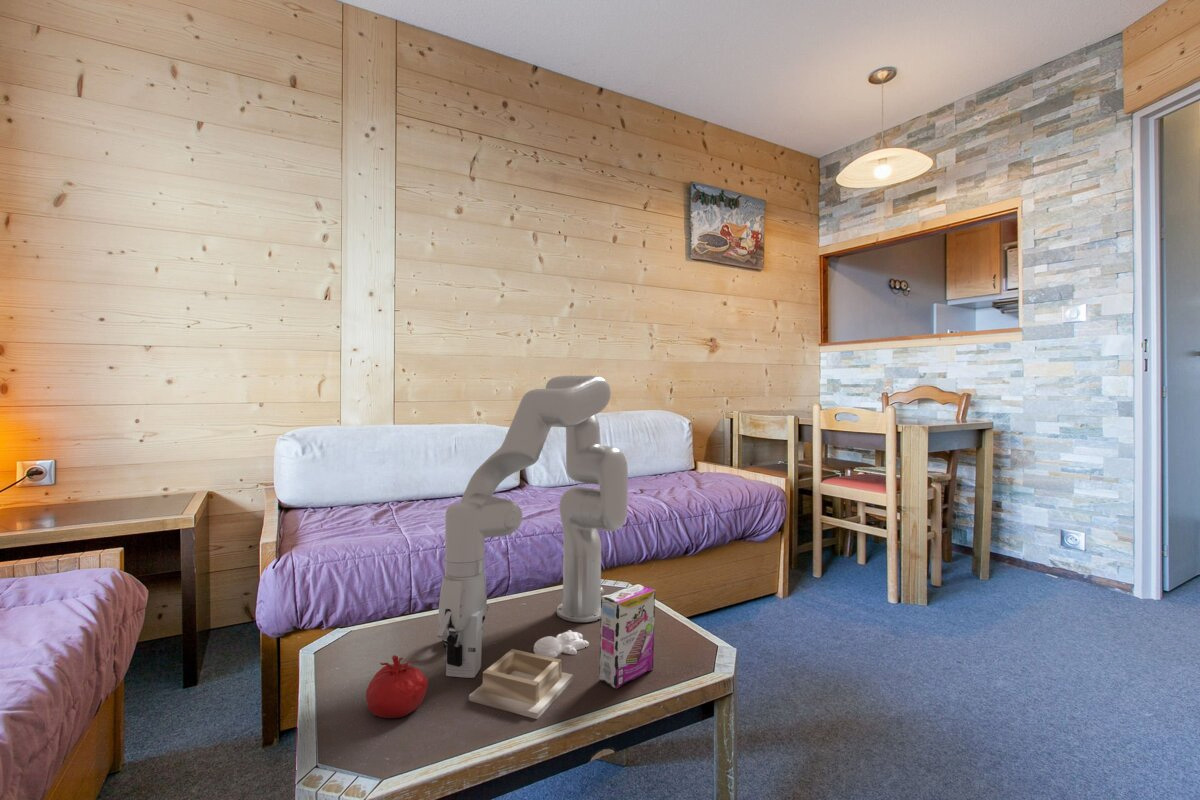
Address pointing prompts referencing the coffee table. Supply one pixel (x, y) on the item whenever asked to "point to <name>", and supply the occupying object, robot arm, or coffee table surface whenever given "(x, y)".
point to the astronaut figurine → (560, 644)
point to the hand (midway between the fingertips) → (464, 656)
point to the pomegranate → (396, 689)
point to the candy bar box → (626, 634)
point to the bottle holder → (522, 683)
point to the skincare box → (469, 649)
